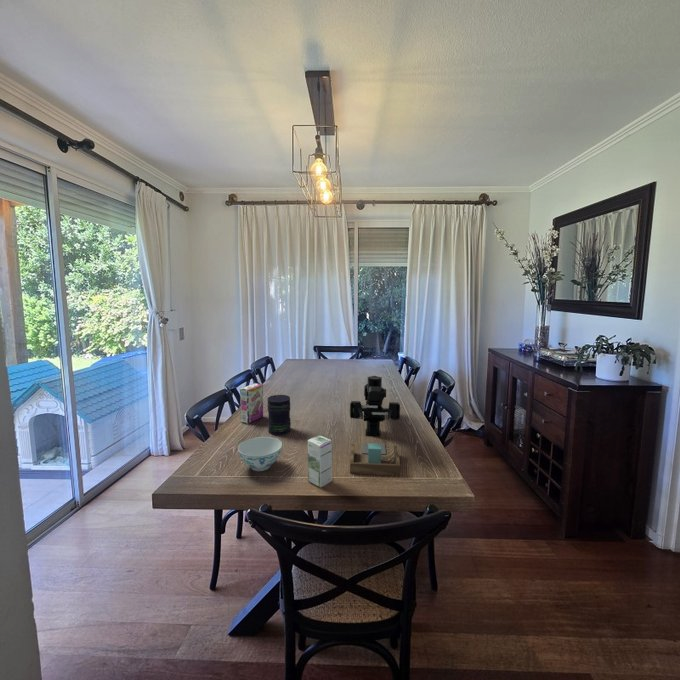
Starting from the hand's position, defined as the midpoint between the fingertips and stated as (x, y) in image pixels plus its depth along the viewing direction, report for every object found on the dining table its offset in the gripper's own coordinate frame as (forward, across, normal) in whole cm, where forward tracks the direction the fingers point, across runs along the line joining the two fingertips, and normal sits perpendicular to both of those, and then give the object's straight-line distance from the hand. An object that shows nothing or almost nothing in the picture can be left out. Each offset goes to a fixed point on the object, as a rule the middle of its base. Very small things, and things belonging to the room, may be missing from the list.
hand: (375, 418), depth 126 cm
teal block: (0, 0, +17) cm, 17 cm away
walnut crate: (+1, 0, +16) cm, 17 cm away
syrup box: (+15, -18, +17) cm, 29 cm away
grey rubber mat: (-10, 0, +17) cm, 20 cm away
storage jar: (-24, -41, +17) cm, 51 cm away
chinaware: (+7, -40, +17) cm, 44 cm away
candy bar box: (-36, -57, +17) cm, 70 cm away
